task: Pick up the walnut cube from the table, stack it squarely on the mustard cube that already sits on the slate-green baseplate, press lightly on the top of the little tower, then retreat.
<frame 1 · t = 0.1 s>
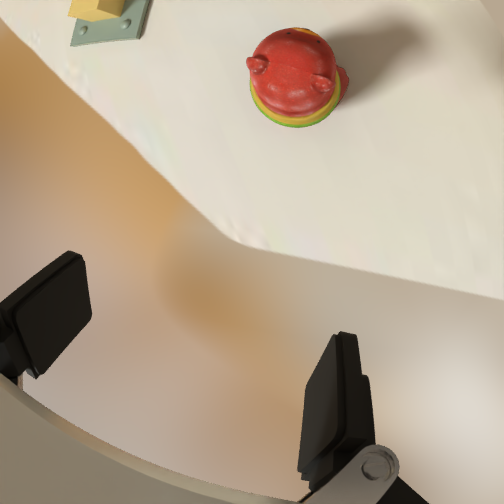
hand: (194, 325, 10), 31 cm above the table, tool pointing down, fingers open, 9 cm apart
stacking bear: (298, 88, 33), on the table
baseplate: (113, 5, 29), on the table
mustard cube: (109, 3, 28), point 1 cm above the table, touching baseplate
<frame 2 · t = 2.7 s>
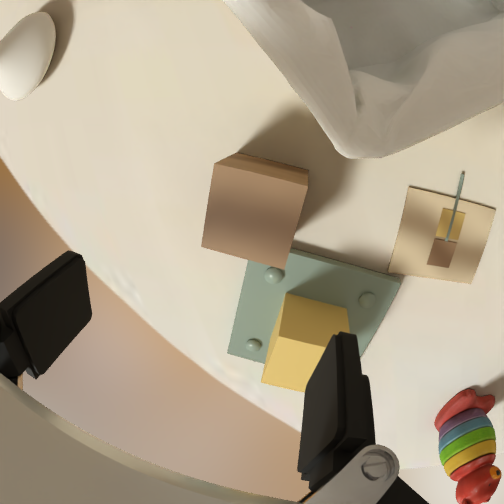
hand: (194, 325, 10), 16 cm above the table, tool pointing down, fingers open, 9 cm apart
stacking bear: (460, 409, 32), on the table
storage basket: (390, 6, 15), on the table
baseplate: (307, 318, 29), on the table
mustard cube: (307, 324, 28), point 1 cm above the table, touching baseplate
flower in vase: (38, 49, 21), on the table
walnut cube: (264, 195, 24), on the table
instruction card: (445, 239, 23), on the table
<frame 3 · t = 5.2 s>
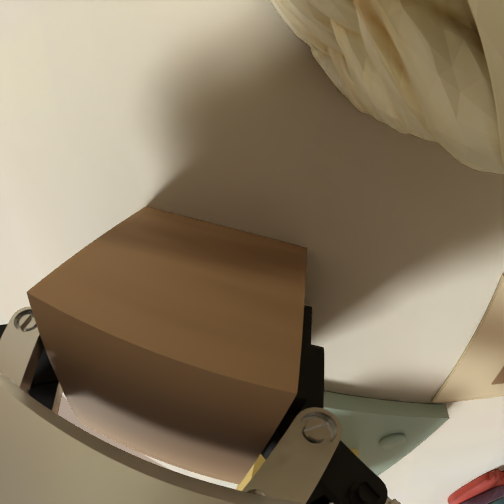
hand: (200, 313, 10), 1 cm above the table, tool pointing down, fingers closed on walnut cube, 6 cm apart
stacking bear: (478, 483, 20), on the table
baseplate: (296, 449, 16), on the table
mustard cube: (295, 462, 15), point 1 cm above the table, touching baseplate
walnut cube: (210, 295, 12), on the table, touching gripper
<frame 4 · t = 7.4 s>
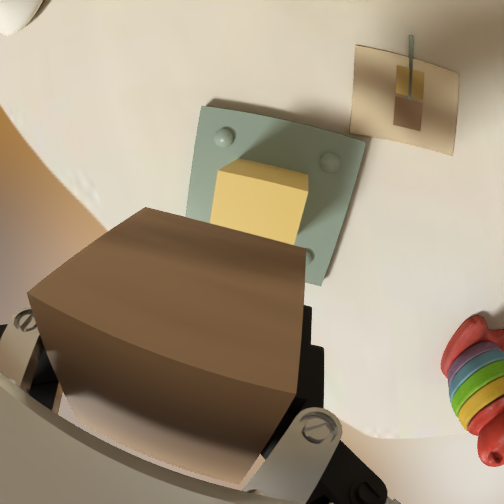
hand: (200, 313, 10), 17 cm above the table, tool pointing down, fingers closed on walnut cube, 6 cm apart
stacking bear: (469, 349, 30), on the table
baseplate: (267, 196, 26), on the table
mustard cube: (265, 199, 25), point 1 cm above the table, touching baseplate
walnut cube: (210, 295, 12), point 16 cm above the table, touching gripper
instruction card: (408, 99, 20), on the table
when the fingers open (9 cm above the table, at t = 9.7 s): walnut cube drops 1 cm, resting on mustard cube.
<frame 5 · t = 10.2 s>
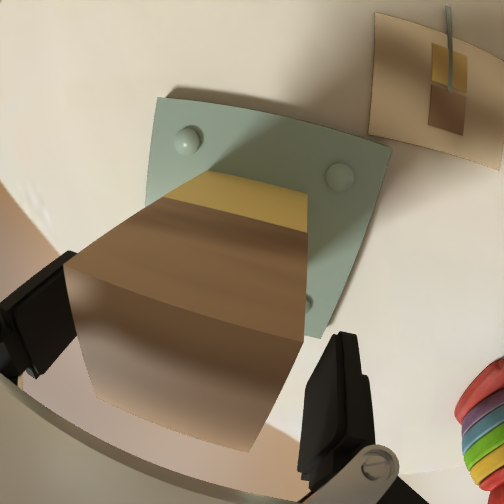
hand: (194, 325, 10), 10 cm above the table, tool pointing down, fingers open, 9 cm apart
stacking bear: (487, 392, 22), on the table
baseplate: (249, 222, 19), on the table
mustard cube: (246, 227, 18), point 1 cm above the table, touching baseplate, walnut cube
walnut cube: (220, 277, 13), point 7 cm above the table, touching mustard cube
instruction card: (447, 91, 13), on the table
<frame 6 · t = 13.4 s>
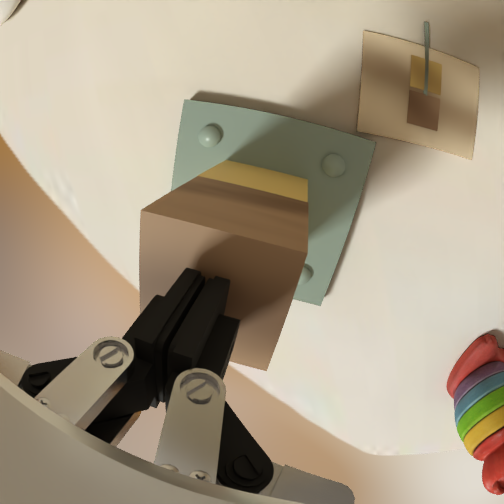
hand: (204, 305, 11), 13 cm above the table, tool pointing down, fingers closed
stacking bear: (477, 368, 26), on the table
baseplate: (260, 203, 23), on the table
mustard cube: (257, 207, 22), point 1 cm above the table, touching baseplate, walnut cube
walnut cube: (241, 239, 16), point 7 cm above the table, touching mustard cube
instruction card: (424, 94, 16), on the table
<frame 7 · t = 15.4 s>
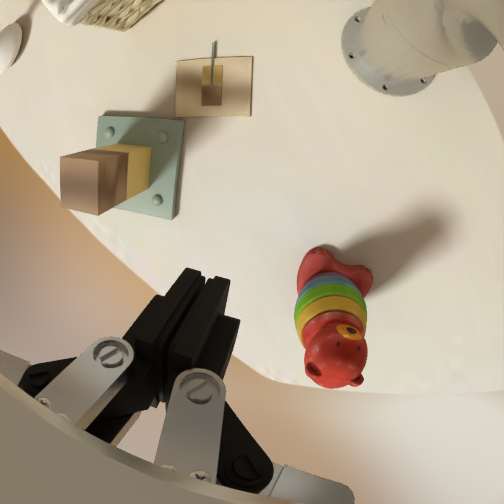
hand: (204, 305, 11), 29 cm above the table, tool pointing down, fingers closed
stacking bear: (329, 285, 42), on the table
baseplate: (135, 164, 39), on the table
mustard cube: (132, 165, 38), point 1 cm above the table, touching baseplate, walnut cube
flower in vase: (13, 44, 31), on the table
walnut cube: (108, 173, 33), point 7 cm above the table, touching mustard cube
instruction card: (212, 86, 33), on the table
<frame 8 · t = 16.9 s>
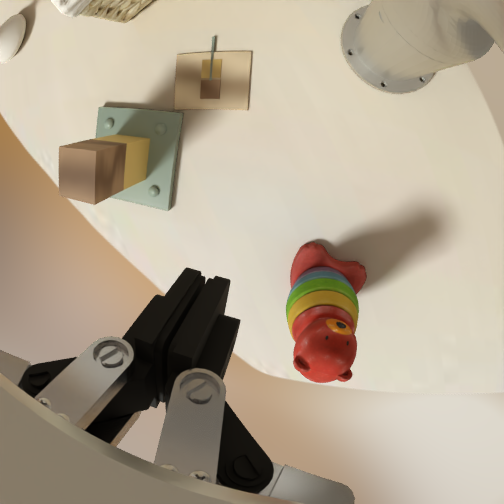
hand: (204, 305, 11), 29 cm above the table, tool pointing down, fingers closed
stacking bear: (322, 280, 43), on the table
baseplate: (134, 155, 39), on the table
mustard cube: (130, 156, 38), point 1 cm above the table, touching baseplate, walnut cube
flower in vase: (17, 35, 31), on the table
walnut cube: (106, 164, 33), point 7 cm above the table, touching mustard cube
instruction card: (211, 80, 33), on the table
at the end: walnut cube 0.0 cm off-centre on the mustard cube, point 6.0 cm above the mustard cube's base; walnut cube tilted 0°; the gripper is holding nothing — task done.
